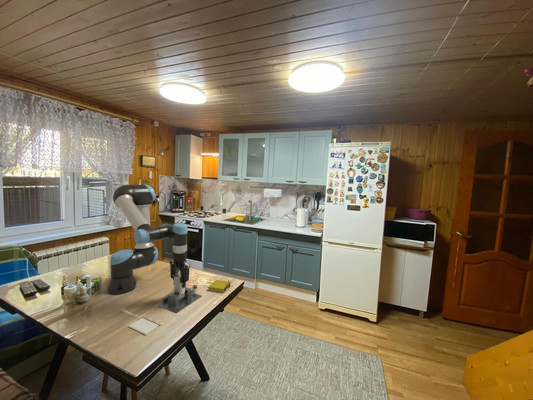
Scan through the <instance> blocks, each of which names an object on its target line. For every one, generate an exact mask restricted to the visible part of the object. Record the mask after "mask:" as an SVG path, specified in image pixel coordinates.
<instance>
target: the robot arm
mask: <svg viewBox="0 0 533 400" xmlns="http://www.w3.org/2000/svg"><path fill="white" fill-rule="evenodd" d="M155 200H156V193H155V190H154V188H153V186H152V185H149V184H122V185H120V186H118V187H117V188H115V190H114V192H113V194H112V202H113V203H114V205H115V206H116V207H117V208H119V209H120V211H121V212H122V213H123V215H124V216H125V218H126V220H128V223H129V224H130V226H131V227H132V228H133V230H134V233H133V239H134V241H135V246H134V247H133V250H132V249H130V248H129V249H128V248H127V249H126V248H125V249H121V250H118V251H116V252H114V253H113V254H111V256H110V261H109V264H110V281H109V283H108V286H107V293H108V294H110V295H122V294H127V293H130V292H133V291H134V290H135V289H136V288H137V281H136V278H135V276H134V270H137V269H141V268H145V267H149V266H151V265H154V264H155V263H156V262H158V259H159V251H158V248H157V247H156V246H155V244H154V243H152V242H157V241H162V240H166V239H167V240H168V239H170V240H172V260H169V265H170V270H169V271H170V273H169V274H170V279H172V280H173V281H174V276H176V275H178V274H181V282H180V294H182V293H184V292H185V287H186V288H187V286H186V285H187V284H186V283H187V282H188V281H190V268H191V264H190V263H187V258H188V231H189V230H188V225H187V224H186V223H180V222H179V223H174V224H169V223H164V224H162V225H160V226H155V227H154V226H151V213H150V212H151V211H150V207H151V206H152V205H153V204H152V203H153V202H154V201H155Z"/></svg>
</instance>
